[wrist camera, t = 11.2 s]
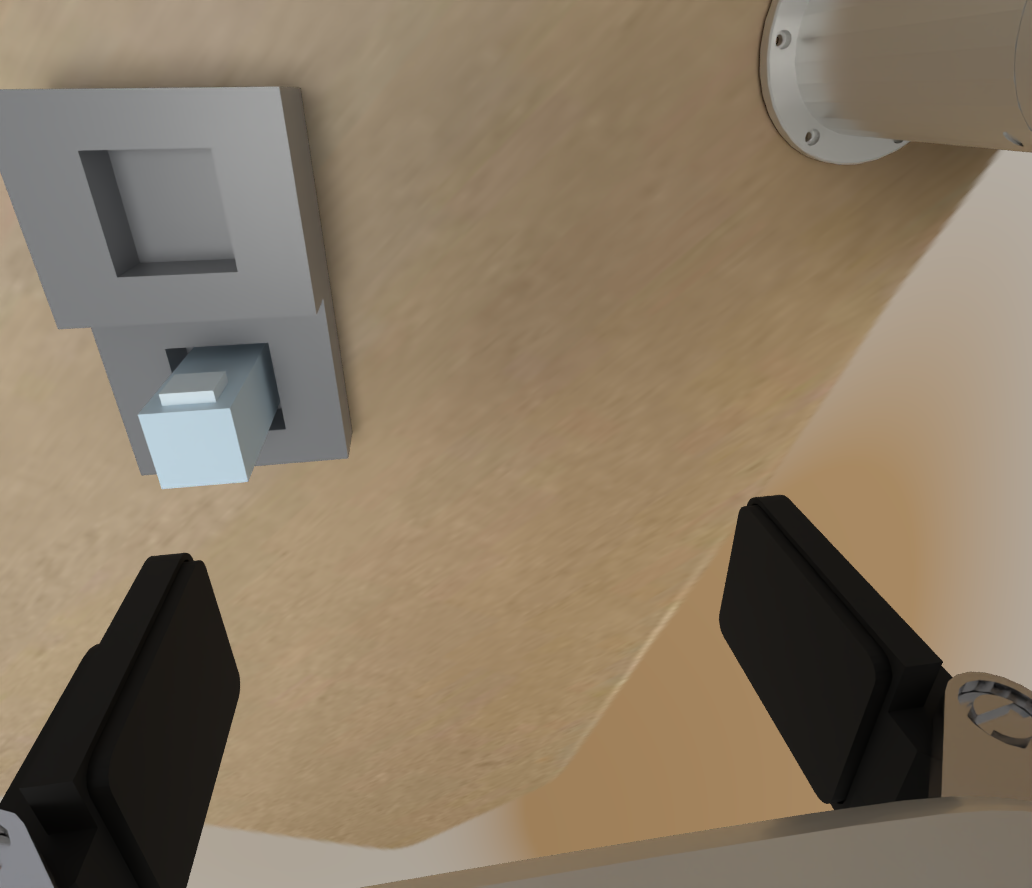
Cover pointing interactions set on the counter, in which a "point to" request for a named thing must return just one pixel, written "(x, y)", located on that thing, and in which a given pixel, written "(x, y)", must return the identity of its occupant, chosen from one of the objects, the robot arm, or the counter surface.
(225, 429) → the plug
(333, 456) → the socket panel
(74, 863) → the robot arm
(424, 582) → the counter surface
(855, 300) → the counter surface
